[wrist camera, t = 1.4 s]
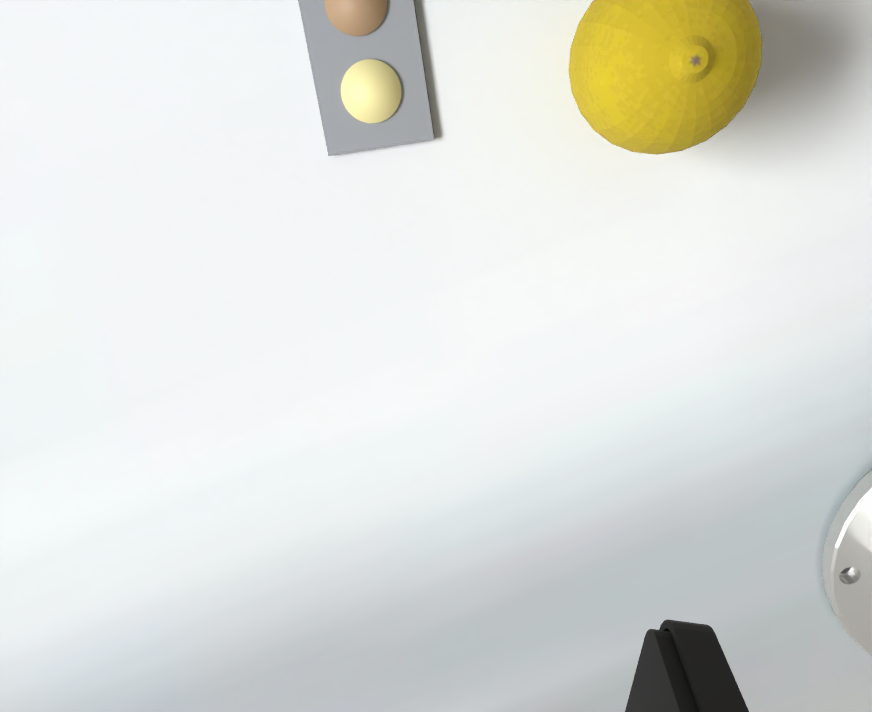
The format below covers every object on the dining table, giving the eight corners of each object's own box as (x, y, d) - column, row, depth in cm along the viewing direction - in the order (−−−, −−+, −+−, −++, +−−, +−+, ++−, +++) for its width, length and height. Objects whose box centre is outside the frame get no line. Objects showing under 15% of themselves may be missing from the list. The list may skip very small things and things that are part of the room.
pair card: (403, -70, 26) (402, -72, 26) (434, 139, 29) (433, 139, 28) (290, -50, 27) (288, -52, 26) (330, 155, 29) (328, 156, 29)
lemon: (527, 91, 28) (548, 97, 21) (616, -55, 26) (675, -107, 19) (650, 171, 29) (714, 205, 21) (745, 35, 27) (851, 19, 20)
